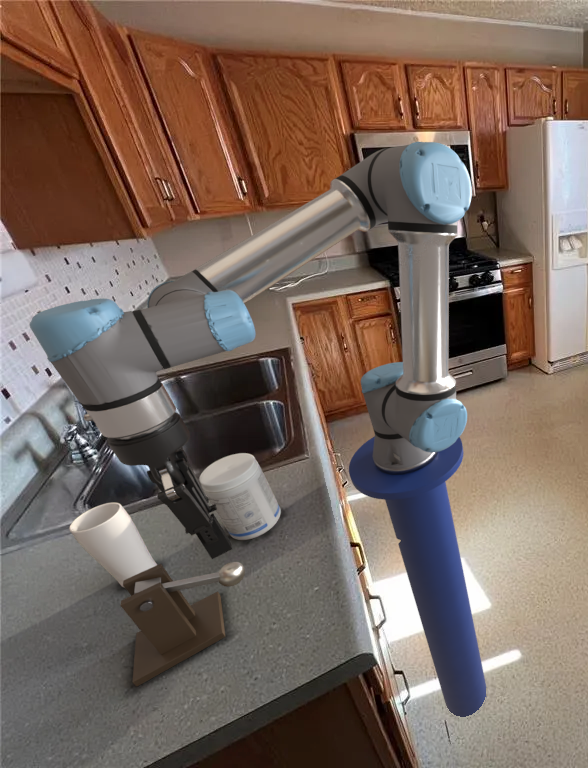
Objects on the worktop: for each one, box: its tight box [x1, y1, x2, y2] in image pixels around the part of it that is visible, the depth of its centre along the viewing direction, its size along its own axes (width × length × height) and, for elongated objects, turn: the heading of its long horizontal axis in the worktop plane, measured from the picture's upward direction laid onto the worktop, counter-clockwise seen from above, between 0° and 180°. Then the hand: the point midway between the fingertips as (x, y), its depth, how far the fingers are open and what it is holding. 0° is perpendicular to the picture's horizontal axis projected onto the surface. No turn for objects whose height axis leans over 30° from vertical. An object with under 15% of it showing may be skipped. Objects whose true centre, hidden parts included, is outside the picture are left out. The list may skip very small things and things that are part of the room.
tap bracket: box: [119, 563, 226, 688], centre depth 61 cm, size 11×9×13 cm
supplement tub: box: [198, 452, 282, 541], centre depth 81 cm, size 10×10×15 cm
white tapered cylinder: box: [68, 501, 158, 589], centre depth 72 cm, size 7×7×15 cm
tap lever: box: [134, 561, 246, 594], centre depth 62 cm, size 13×4×4 cm, turn 127°
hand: (221, 551), depth 63 cm, fingers closed
